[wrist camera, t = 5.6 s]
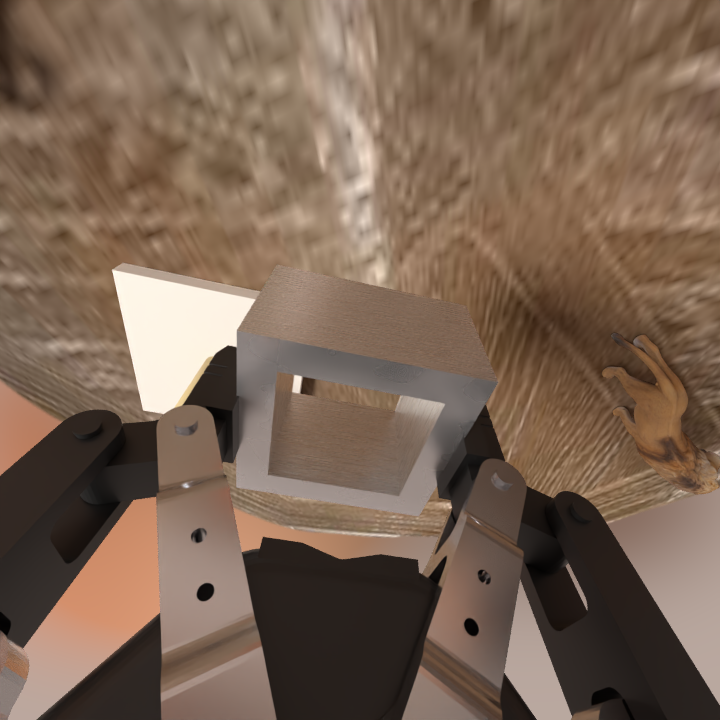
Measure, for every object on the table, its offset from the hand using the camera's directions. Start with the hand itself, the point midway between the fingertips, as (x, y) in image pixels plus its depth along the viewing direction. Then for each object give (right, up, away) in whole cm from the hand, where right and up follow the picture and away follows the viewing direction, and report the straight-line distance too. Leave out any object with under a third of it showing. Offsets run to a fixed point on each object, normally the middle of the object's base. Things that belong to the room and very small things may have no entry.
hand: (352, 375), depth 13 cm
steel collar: (0, +1, +1) cm, 1 cm away
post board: (-13, +1, +22) cm, 26 cm away
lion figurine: (+27, -2, +22) cm, 35 cm away
